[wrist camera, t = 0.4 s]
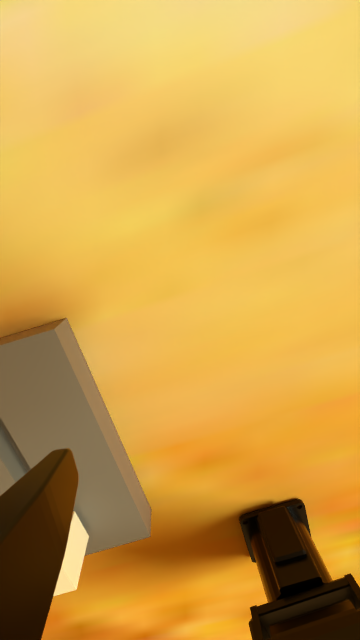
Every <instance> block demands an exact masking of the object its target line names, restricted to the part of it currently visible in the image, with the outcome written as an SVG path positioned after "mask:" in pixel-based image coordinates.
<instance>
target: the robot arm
mask: <svg viewBox="0 0 360 640" xmlns="http://www.w3.org/2000/svg"><path fill="white" fill-rule="evenodd" d="M78 482H79V475H78V470H77V467H76V463H75V460H74V456H73V453H72V451H71V449H69V448H64V449H57V450H53V451H52V452H50V453H49V454H48V455H47V456H46V457H45V458H43V459H42V460H41V461H40V462H39V463H38V464H36V465H35V466H34V467H33V468H32V469H31V470H30V471H28V472H27V473H26V474H25V475H24V476H23V477H21V478H20V479H19V480H18V481H17V482H16V483H15V484H13V485H12V486H11V487H10V488H9V489H8V490H6V491H5V492H4V493H3V494H2V495H1V496H0V640H41V638H42V634H43V631H44V627H45V624H46V620H47V616H48V613H49V609H50V606H51V602H52V599H53V595H54V592H55V588H56V585H57V581H58V577H59V574H60V570H61V567H62V563H63V559H64V555H65V551H66V547H67V542H68V537H69V531H70V526H71V520H72V515H73V510H74V504H75V499H76V493H77V488H78ZM239 521H240V524H241V527H242V531H243V534H244V537H245V540H246V544H247V547H248V550H249V553H250V556H251V560H252V562H255V563H257V567H258V570H259V574H260V577H261V580H262V584H263V587H264V590H265V594H266V597H267V601H268V603H266V604H263V605H260V606H256V605H255V606H252V607H250V610H251V615H252V619H251V620H250V622H249V627H250V631H251V636H252V640H360V587H359V586H358V584H357V583H356V581H355V580H354V578H353V576H352V575H351V573H350V574H347V575H344V577H343V578H340V579H337V580H334V581H333V580H332V578H331V576H330V574H329V572H328V570H327V568H326V566H325V564H324V562H323V560H322V558H321V556H320V554H319V552H318V550H317V548H316V546H315V544H314V542H313V540H312V538H311V534H310V529H309V524H308V519H307V515H306V510H305V505H304V503H303V501H302V500H300V499H297V500H294V501H290V502H287V503H283V504H280V505H276V506H273V507H269V508H266V509H262V510H259V511H255V512H252V513H248V514H245V515H242V516H241V517H240V518H239Z"/></svg>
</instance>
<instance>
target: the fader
mask: <svg viewBox="0 0 360 640" xmlns="http://www.w3.org/2000/svg"><path fill="white" fill-rule="evenodd" d="M88 538H89V536H88V534H87V532H86V530H85V528H84V527H83V525H82V523H81V521H80V520H79V518H78V516H77V514H76V512H75V511H73V515H72V520H71V526H70V531H69V537H68V542H67V547H66V551H65V555H64V559H63V563H62V567H61V570H60V574H59V577H58V581H57V585H56V588H55V592H54V595H53V596H56V595H60V594H63V593H67V592H70V591H74V590H76V589H77V585H78V581H79V577H80V572H81V568H82V564H83V560H84V555H85V551H86V547H87V543H88Z"/></svg>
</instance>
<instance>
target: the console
mask: <svg viewBox="0 0 360 640" xmlns="http://www.w3.org/2000/svg"><path fill="white" fill-rule="evenodd" d="M64 448H69V449H71V451H72V453H73V456H74V460H75V463H76V467H77V470H78V475H79V482H78V488H77V493H76V499H75V504H74V510H73V511H75V512H76V514H77V516H78V518H79V520H80V521H81V523H82V525H83V527H84V528H85V530H86V532H87V534H88V536H89V538H88V543H87V547H86V551H85V555H89V554H92V553H96V552H99V551H103V550H106V549H110V548H113V547H117V546H120V545H124V544H127V543H130V542H134V541H137V540H141V539H144V538H148V537H150V532H151V508H150V506H149V503H148V501H147V499H146V497H145V494H144V492H143V490H142V487H141V485H140V483H139V481H138V478H137V476H136V474H135V472H134V469H133V467H132V465H131V463H130V460H129V458H128V456H127V453H126V451H125V449H124V447H123V444H122V442H121V440H120V438H119V435H118V433H117V431H116V429H115V426H114V424H113V422H112V420H111V417H110V415H109V413H108V410H107V408H106V406H105V404H104V401H103V399H102V397H101V395H100V392H99V390H98V388H97V386H96V383H95V381H94V379H93V377H92V374H91V372H90V370H89V367H88V365H87V363H86V361H85V358H84V356H83V354H82V352H81V349H80V347H79V345H78V343H77V340H76V338H75V336H74V333H73V331H72V329H71V327H70V324H69V322H68V320H67V318H65V319H62V320H59V321H55V322H52V323H49V324H45V325H42V326H39V327H35V328H32V329H29V330H26V331H22V332H19V333H16V334H12V335H9V336H6V337H3V338H0V496H1V495H2V494H3V493H4V492H5V491H6V490H8V489H9V488H10V487H11V486H12V485H13V484H15V483H16V482H17V481H18V480H19V479H20V478H21V477H23V476H24V475H25V474H26V473H27V472H28V471H30V470H31V469H32V468H33V467H34V466H35V465H36V464H38V463H39V462H40V461H41V460H42V459H43V458H45V457H46V456H47V455H48V454H49V453H50V452H52V451H53V450H57V449H64ZM85 555H84V556H85Z"/></svg>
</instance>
